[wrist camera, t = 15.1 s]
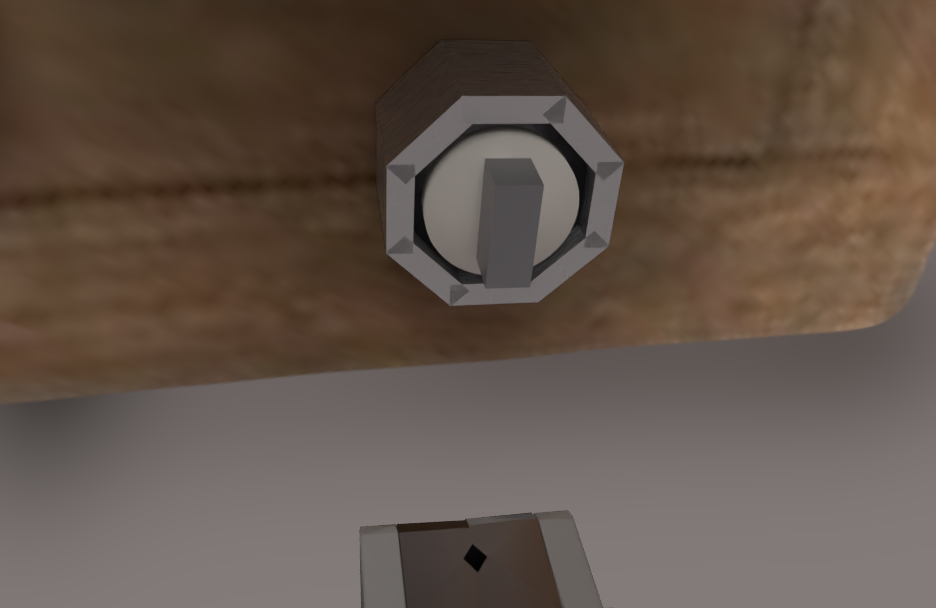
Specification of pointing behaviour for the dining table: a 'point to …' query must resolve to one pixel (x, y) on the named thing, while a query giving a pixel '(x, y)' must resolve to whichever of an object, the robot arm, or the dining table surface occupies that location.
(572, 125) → the grey octagonal pot
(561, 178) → the cap
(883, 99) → the dining table surface
